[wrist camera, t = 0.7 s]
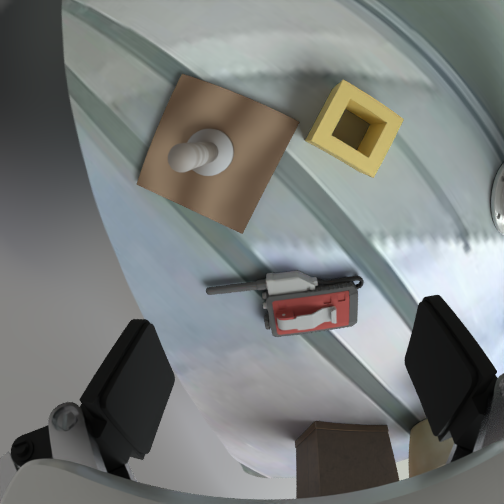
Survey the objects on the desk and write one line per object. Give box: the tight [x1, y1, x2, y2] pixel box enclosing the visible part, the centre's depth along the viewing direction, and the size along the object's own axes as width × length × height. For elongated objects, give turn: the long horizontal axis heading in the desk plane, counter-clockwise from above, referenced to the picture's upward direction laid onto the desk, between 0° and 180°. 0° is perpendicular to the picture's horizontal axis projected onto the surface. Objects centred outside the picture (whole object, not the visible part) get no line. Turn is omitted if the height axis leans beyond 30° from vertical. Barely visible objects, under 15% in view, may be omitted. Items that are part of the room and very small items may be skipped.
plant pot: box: [409, 419, 454, 478], centre depth 41 cm, size 15×15×16 cm
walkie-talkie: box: [206, 270, 364, 337], centre depth 34 cm, size 9×4×20 cm
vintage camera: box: [295, 421, 399, 499], centre depth 34 cm, size 19×14×35 cm
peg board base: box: [137, 74, 299, 234], centre depth 24 cm, size 14×14×11 cm
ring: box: [305, 80, 404, 178], centre depth 24 cm, size 7×7×5 cm
